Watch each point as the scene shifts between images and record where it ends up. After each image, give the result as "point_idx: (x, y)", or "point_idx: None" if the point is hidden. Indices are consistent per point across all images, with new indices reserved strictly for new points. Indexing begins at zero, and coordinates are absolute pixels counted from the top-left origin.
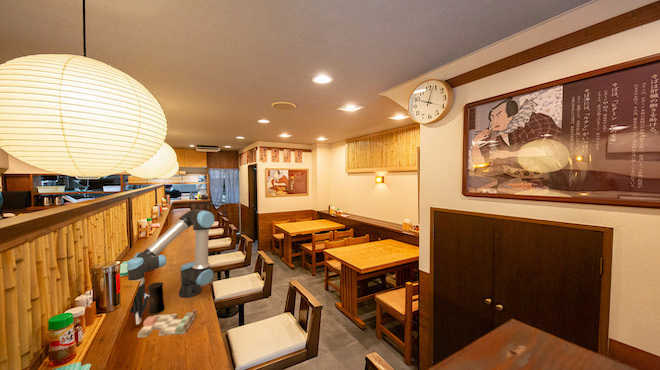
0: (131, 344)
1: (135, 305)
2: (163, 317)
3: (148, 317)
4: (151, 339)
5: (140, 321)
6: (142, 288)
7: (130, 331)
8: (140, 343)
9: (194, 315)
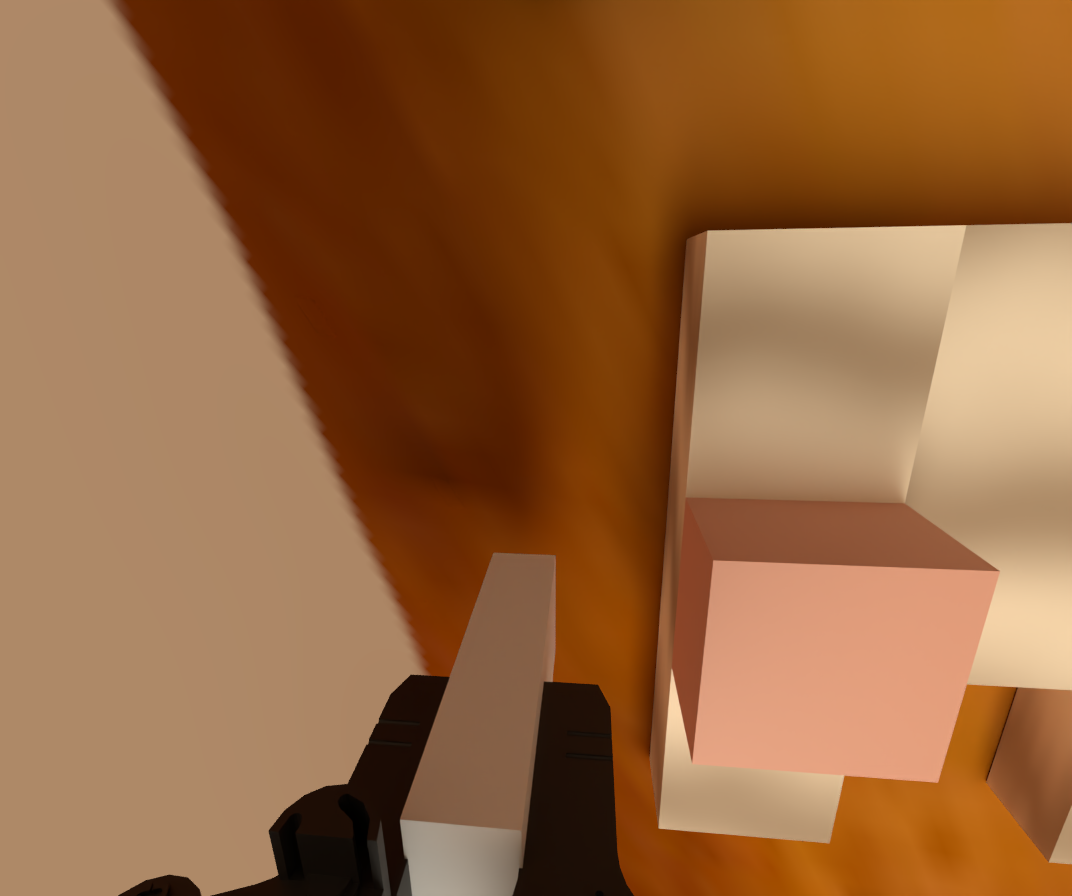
0: (638, 862)
1: None
2: (1038, 382)
3: (746, 604)
4: (888, 831)
5: (554, 607)
6: None
7: (435, 588)
8: (756, 870)
9: None
